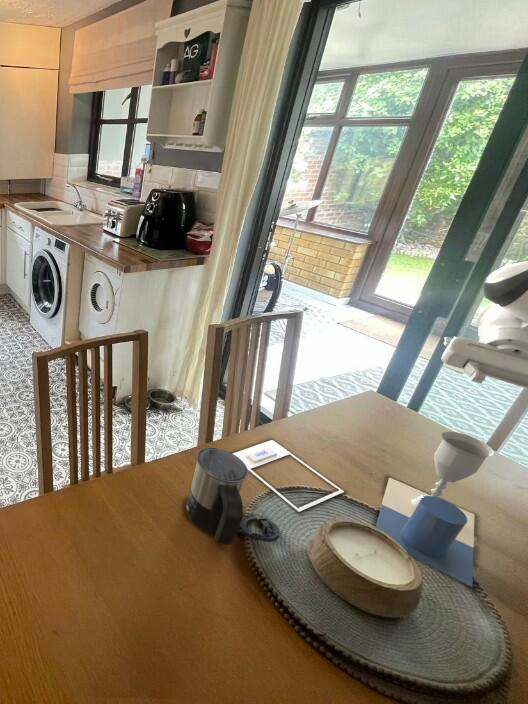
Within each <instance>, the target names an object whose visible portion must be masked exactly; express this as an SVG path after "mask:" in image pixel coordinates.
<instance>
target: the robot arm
mask: <svg viewBox="0 0 528 704" xmlns="http://www.w3.org/2000/svg"><path fill="white" fill-rule="evenodd" d="M483 295H484V298H485V299H486V300H488V301H490V302H492V303H494V304H495V305H494V306H492V307H490V308H489V309H488V310H486V311H485V312H484V314H483V315H482V316H481V319H480V320H479V323H478V329H477V330H478V332H477V334H478V335H477V336H478V341H477V340H474V339H470V338H466V337H459V336H453V337H452V336H451V337H450V336H445V337H444V339H443V345H444V346H445V347H446V348H445V349H444V351H443V353H442V355H441V357H440V358H441V361H442V362H443V363H444V364H446V365H447V366H451V367H454V368H459V369H461V370H463V372H465V373H466V374H467V375H468V376H469V377H470V381H471V382H474V383H478V384H482V383H483V382H484V381H485V380H486V378H487V377H488V378H490V379H494V380H498V381H501V382H504V383H508V384H512V385H514V386H518V387H520V388H525V389H528V259H524V260H519V261H516V262H512V263H509V264H507V265H504V266H502V267H500V268H497V269H495V270H494V271H493V272H492V273H490V274H488V275H487V277H486V278H485V280H484V283H483Z"/></svg>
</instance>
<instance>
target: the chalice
mask: <svg viewBox="0 0 528 704" xmlns="http://www.w3.org/2000/svg"><path fill="white" fill-rule="evenodd" d="M441 439H442V440H441V442H440V444H439V445H438V447H437V449H436V450H435V453H434V454H433V456H434V457H433V458H434V467H435V472H436V476H437V477H439V478H440V480H439V481H438V482H435V488H431V489H430V491H431V494H430V495H431V496H433V497H437V498H440V497H441V496H444V493H443V490H445V489H447V483H448V482H449V483H456V482H458V481H461V480H464V479H467V478H469V477H471V476H472V475H474V474H476V473H477V472H478V471H479V469H480V468H481V466H482V464H483V463H484V461H485V460H486V459H487V458H488V457H491V456H493V455H494V453H495V452H494V450H493V448H492V447H491V446H489V445H488V444H486V443H485V442H484V441H482V440H481V439H478V438H476V437H473V436H470V435H468V434H465V433H461V432H456V431H443V432H442V433H441ZM424 496H426V495H424ZM424 496H419V497H417V498H416V499H413V500H412V501H411V504H412V506H413V507H414V508H415V507H416V506H417V504H418V502H419V501H420V499H421V498H422V497H424Z"/></svg>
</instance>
